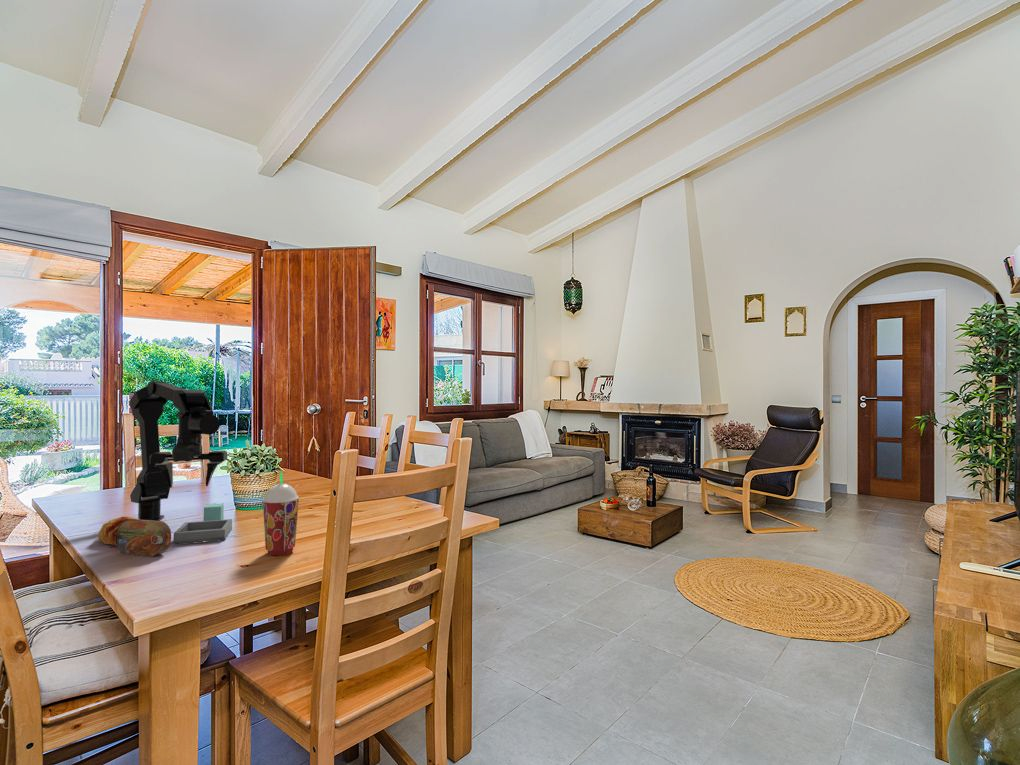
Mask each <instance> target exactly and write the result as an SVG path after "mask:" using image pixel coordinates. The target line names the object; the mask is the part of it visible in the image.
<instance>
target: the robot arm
mask: <svg viewBox="0 0 1020 765" xmlns="http://www.w3.org/2000/svg"><path fill="white" fill-rule="evenodd" d="M168 401H170V402H172V406H173V407H175V408H176V409H177V410H178V411H179V412H177V413H176V414H175V417H176V418H178V433H177V434H178V437H177V439H176V444H175V445H174V447H172V450H171V451H161V450H160V448H161V446H160V433H159V432H160V431H159V420H160V418H161V417H162V415H163V413H164V407H165V405H166V404H167V403H168ZM129 406H130V410H131V414H132V417H134V418H135V420H136V421H137V422H138V424H139V437H140V439H139V440H140V452H141V456H140V457H141V468H142V469H141V470H140V472H139V474H138V475H137V477H136V483H135V486H134V487H133V489H132V491H131V493H130V495H129V496H130V497H129V498H130V502H131V503H135V504H138V505H137V506H138V509H137V512H138V513H137V515H138V516H137V518H138V519H140V520H154V521H162V519H163V518H164V517H165V515H164V514H161V505H162V504H161V501H162V500H167V499H169V496H170V491H171V488H173V483H174V476H173V475H174V472H173V468H174V467H173V464H174V463H178V462H192V461H200V460H201V461H204V460H205V461H207V460H208V461H209V462H207V463H206V468H207V469H206V477H205V487H209V484H210V482H211V480H212V477H213V475H214V472H215V470H216V469H217V467H218V466H219V465H220V464H222V463H223V462H226V461H227V460H228V452H227V450H222V449H221V450H211V451H209V452H207V453H203V445H202V439H203V435H208V436H209V435H210V436H211V435H214V434H216V433H217V432H218V430H219V429H220V427H221V422H220V420H219V418H218V417H217V415H215V414H214V410H213V409H212V408H213V406H212V405H211V403H210V401H209V399H208V396H207V395H206V393H205V391H204V390H202V389H185V388H182V387H179V386H177V385H173V384H170V382H167V381H157V380H156V381H155V380H154V381H153V380H152V381H150V382H148V383H147V384H146V385H145V386H144V387H142V388H140V389H138V390H136V391H135V392H134V394H133V395H132V396H131V398H130V400H129ZM173 462H174V463H173Z"/></svg>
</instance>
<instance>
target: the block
mask: <svg viewBox="0 0 1020 765" xmlns="http://www.w3.org/2000/svg"><path fill="white" fill-rule="evenodd" d="M224 507H225V506H224V503H212V504H211V503H209V504H208V503H207V504H205V505H204V506H203V521H212V520H224V515H225V514H224V513H225V512H224Z"/></svg>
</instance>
